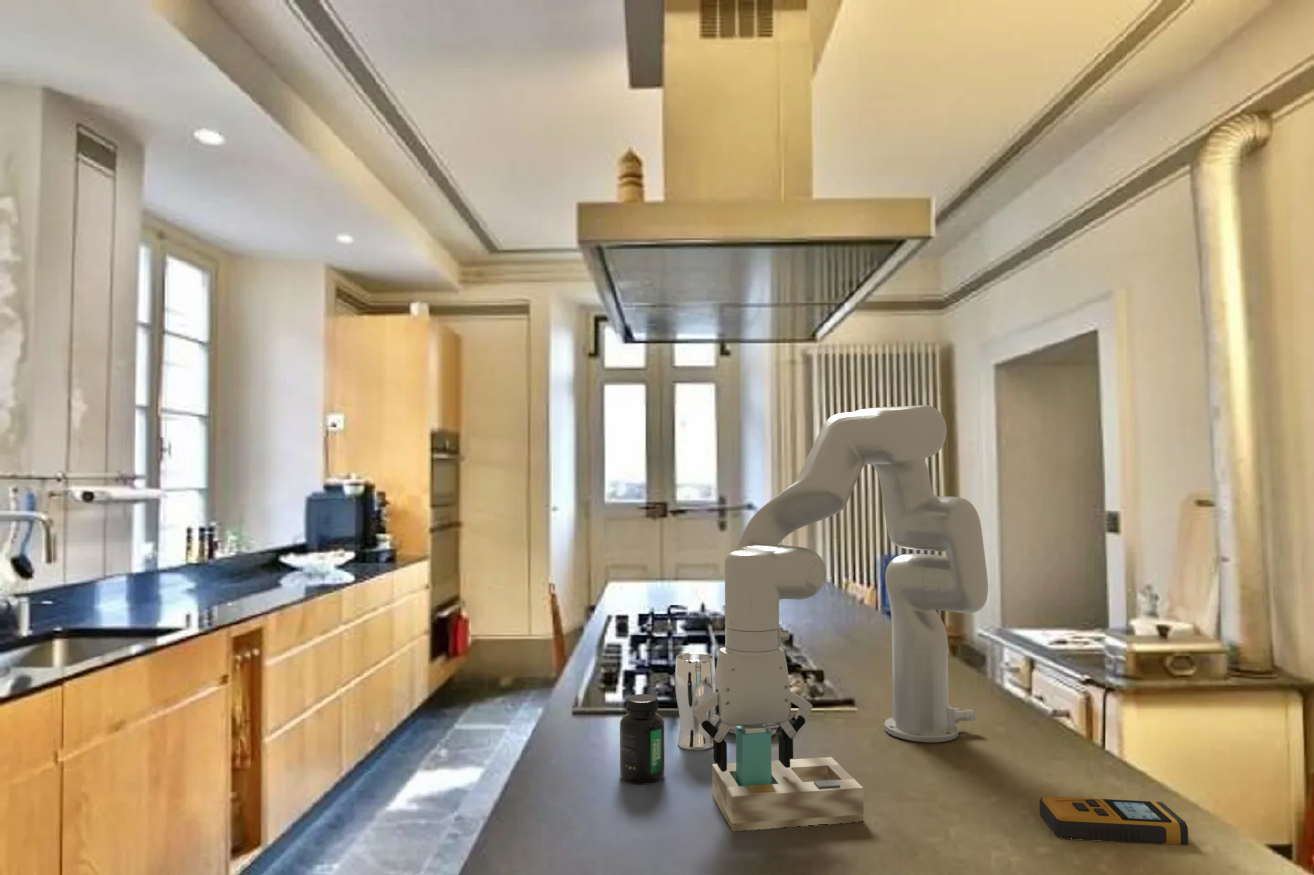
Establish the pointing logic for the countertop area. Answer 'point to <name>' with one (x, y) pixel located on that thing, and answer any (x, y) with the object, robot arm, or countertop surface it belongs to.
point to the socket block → (790, 796)
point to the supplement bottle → (642, 741)
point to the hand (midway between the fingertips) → (753, 765)
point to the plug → (753, 755)
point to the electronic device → (1113, 820)
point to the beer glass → (694, 697)
